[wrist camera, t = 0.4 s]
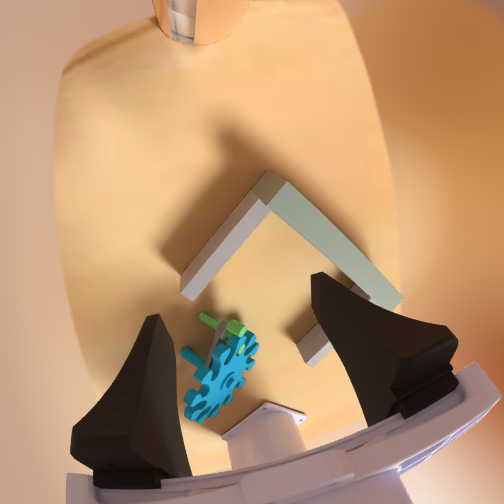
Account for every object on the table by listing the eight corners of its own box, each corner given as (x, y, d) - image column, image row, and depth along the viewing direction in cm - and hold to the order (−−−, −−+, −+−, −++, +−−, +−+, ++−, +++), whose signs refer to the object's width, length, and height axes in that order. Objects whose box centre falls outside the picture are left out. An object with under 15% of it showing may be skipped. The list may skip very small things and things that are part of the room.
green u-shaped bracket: (303, 348, 30) (320, 381, 26) (180, 275, 24) (179, 308, 20) (375, 273, 28) (403, 297, 24) (267, 170, 22) (287, 181, 18)
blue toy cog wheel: (244, 401, 30) (186, 444, 21) (203, 374, 32) (139, 405, 23) (279, 315, 28) (218, 345, 19) (229, 290, 30) (158, 305, 22)
